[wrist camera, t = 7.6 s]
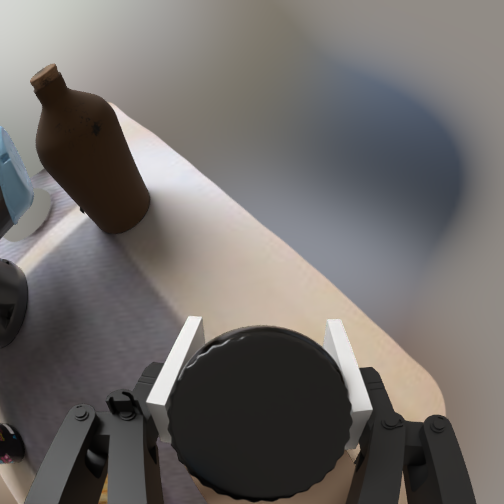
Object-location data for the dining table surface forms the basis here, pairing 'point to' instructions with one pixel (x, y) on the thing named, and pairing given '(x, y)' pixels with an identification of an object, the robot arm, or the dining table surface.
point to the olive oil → (88, 153)
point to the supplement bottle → (260, 414)
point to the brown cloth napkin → (314, 500)
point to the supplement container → (10, 445)
